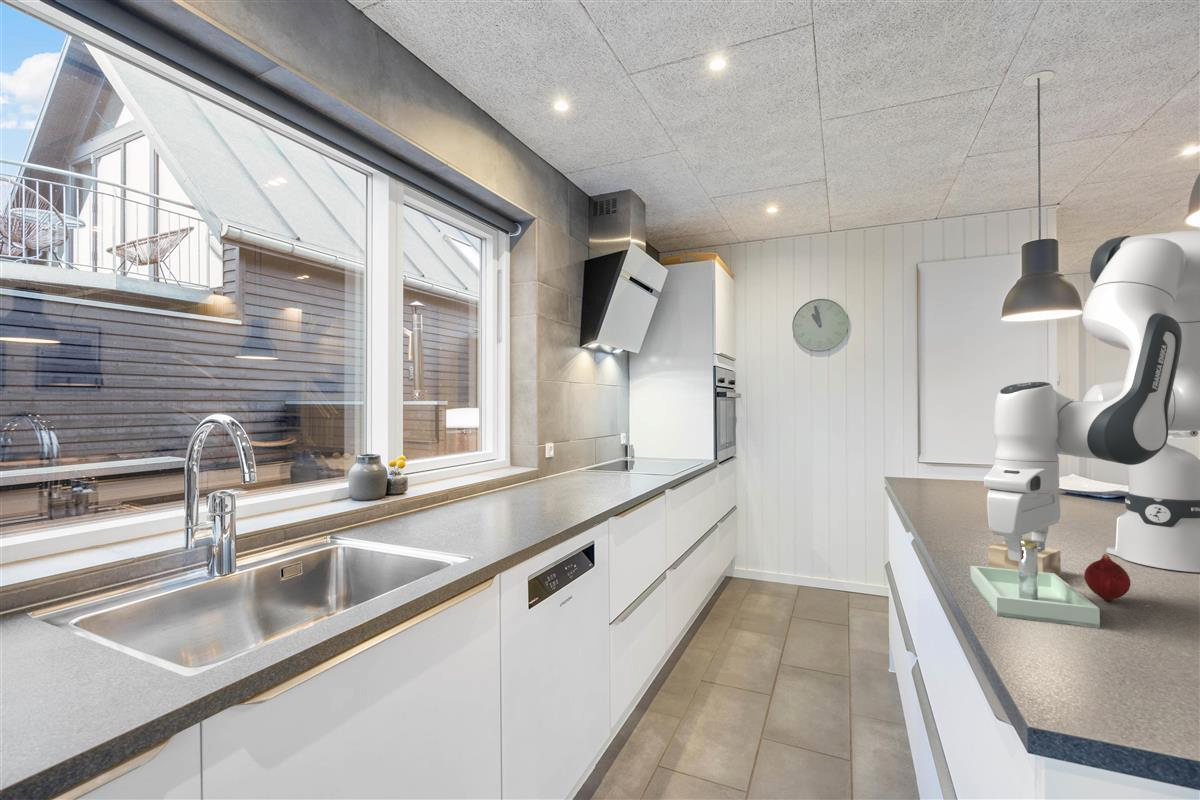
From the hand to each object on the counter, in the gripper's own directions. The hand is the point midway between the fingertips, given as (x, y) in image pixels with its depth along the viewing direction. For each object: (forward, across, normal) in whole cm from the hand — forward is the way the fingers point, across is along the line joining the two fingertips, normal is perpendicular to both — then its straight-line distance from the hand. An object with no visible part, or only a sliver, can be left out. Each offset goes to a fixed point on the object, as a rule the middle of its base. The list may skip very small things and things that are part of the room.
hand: (1027, 555), depth 93 cm
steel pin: (+8, 0, 0) cm, 8 cm away
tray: (+8, 0, 0) cm, 8 cm away
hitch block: (+8, -18, -6) cm, 20 cm away
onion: (+8, -12, +8) cm, 16 cm away
